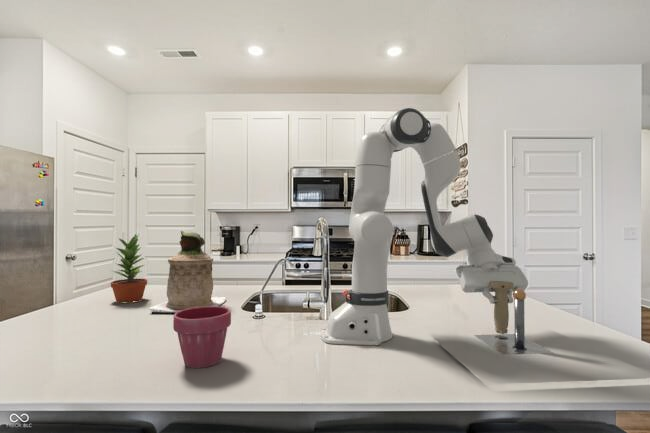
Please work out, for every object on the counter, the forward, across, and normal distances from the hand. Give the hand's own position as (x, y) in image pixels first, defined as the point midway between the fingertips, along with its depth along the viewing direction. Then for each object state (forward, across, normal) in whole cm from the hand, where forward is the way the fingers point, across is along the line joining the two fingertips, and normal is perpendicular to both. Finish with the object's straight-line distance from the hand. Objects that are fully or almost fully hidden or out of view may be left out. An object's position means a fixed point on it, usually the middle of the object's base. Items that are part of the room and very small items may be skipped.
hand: (502, 302), depth 109 cm
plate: (+11, 0, +5) cm, 13 cm away
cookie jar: (-29, -106, +46) cm, 119 cm away
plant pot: (+14, -85, +3) cm, 86 cm away
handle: (+6, 0, +7) cm, 9 cm away
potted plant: (-39, -136, +55) cm, 152 cm away
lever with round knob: (+13, 0, +2) cm, 13 cm away
